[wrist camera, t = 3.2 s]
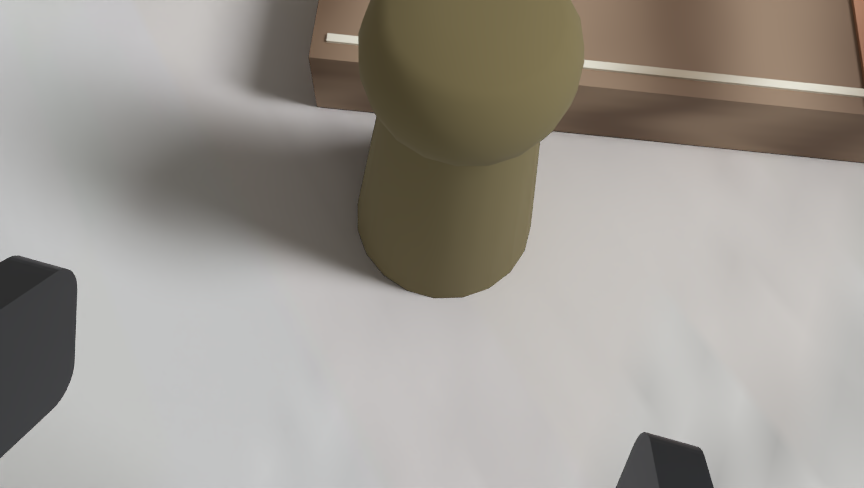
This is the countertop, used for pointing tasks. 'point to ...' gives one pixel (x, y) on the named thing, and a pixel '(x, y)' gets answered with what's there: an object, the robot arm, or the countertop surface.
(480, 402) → the countertop surface
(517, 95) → the cork
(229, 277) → the countertop surface
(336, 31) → the walnut plank
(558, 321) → the countertop surface
